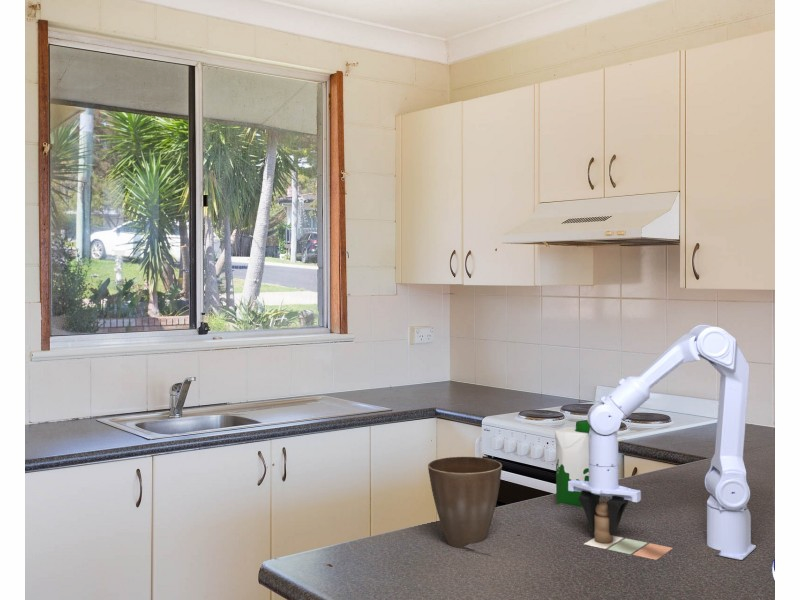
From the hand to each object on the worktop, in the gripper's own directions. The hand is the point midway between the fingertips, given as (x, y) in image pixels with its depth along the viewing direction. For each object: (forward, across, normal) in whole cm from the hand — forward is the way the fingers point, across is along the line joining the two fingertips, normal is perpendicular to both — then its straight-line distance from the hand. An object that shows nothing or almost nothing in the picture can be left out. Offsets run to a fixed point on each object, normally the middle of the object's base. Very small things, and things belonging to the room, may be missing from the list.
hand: (603, 532), depth 157 cm
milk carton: (+3, -18, +24) cm, 30 cm away
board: (+3, +5, 0) cm, 6 cm away
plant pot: (+3, -23, -15) cm, 28 cm away
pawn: (+2, 0, 0) cm, 2 cm away
